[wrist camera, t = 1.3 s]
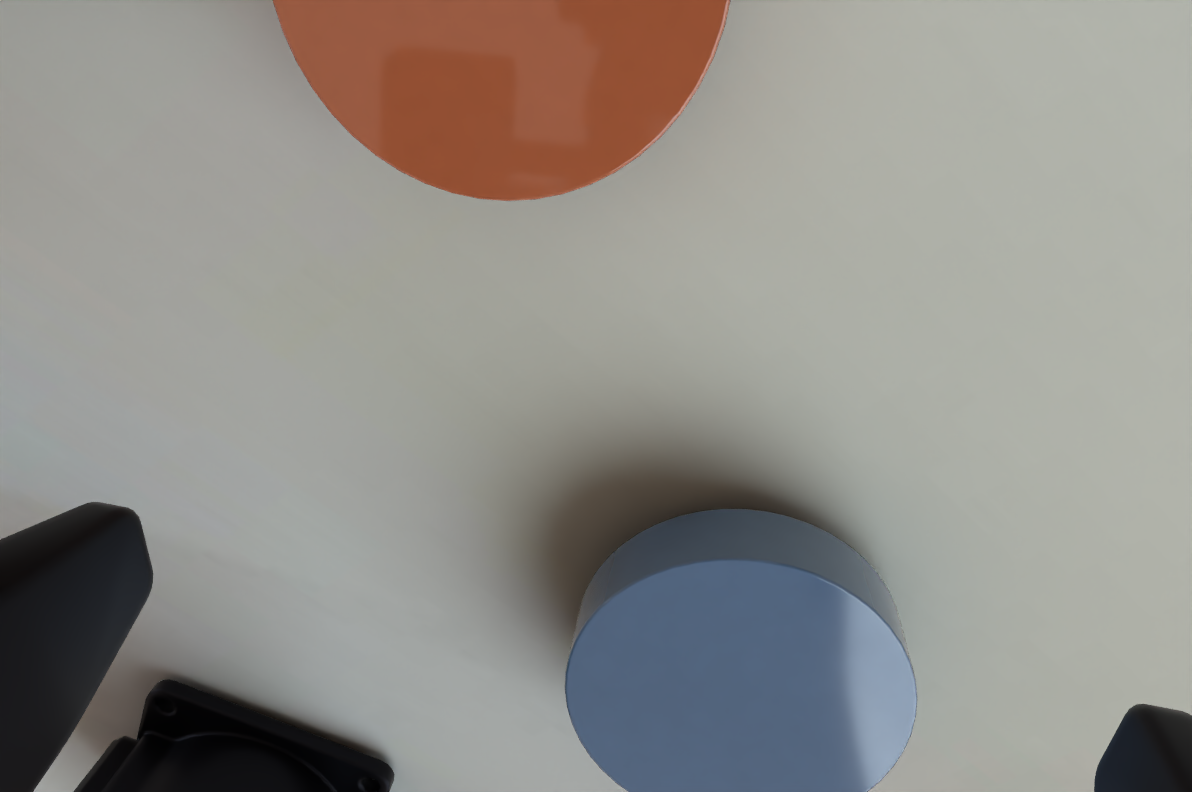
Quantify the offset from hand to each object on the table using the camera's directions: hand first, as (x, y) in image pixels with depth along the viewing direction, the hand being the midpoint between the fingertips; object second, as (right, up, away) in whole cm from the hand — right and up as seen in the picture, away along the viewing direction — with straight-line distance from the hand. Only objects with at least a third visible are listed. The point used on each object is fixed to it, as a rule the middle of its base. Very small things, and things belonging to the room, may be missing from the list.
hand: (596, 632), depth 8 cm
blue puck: (+3, -3, +13) cm, 13 cm away
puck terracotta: (-1, +9, +7) cm, 12 cm away
